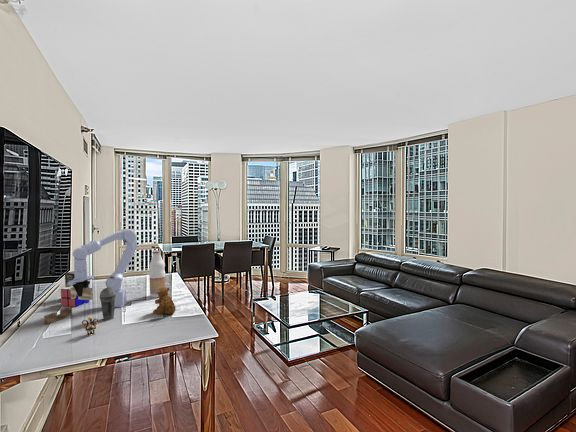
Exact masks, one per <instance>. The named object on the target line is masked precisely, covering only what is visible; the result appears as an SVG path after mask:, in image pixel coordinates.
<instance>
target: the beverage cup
mask: <svg viewBox="0 0 576 432" xmlns="http://www.w3.org/2000/svg"><path fill="white" fill-rule="evenodd" d="M106 280H107V286H106V288H105V287H104V289H102V290H101V291H100V293H99V300H100V304H101V305H100V306H101V311H102V313H101V314H102V318H103V320H104V321H110V320H113V319H114V318H115V308H116V307H115V297H116V294H115V291H114V290H113V289H112V288H108V278H106Z"/></svg>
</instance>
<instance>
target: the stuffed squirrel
mask: <svg viewBox="0 0 576 432" xmlns="http://www.w3.org/2000/svg"><path fill="white" fill-rule="evenodd" d="M169 290H170V287H167V286H166V287H162V288H160V289H159V290H158V292H157V293H158V296H159V297H158V298H157V299H155V301H154V303H155V305H157V307H156V309H153V311H152V312H153V314H156V315H164V314H165V315H173V314H174V313H175V312H176V310H177V309H176V305H175V302H174V300H173V299H172V298H173V297H171V296H170V295H169V292H170V291H169ZM157 293H156V294H157ZM156 294H155V295H156Z"/></svg>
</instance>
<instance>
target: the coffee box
mask: <svg viewBox="0 0 576 432" xmlns="http://www.w3.org/2000/svg"><path fill="white" fill-rule="evenodd" d="M74 278H75V275H74V270H73V271H67V272H65V273H64V284H65V287H64V288H66V287H69V286H70V285H68V282H69V281H71V280H74Z"/></svg>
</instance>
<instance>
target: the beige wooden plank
mask: <svg viewBox="0 0 576 432" xmlns="http://www.w3.org/2000/svg"><path fill="white" fill-rule="evenodd" d="M93 292H94V291H93V287H89V288H83V289H82V296H78V295H77V292H76V290H75V288H74V287H72V288H71V299H74V298H76V296H78V299H80V300H89V301H92V300H93V299H94V297H93V296H94V295H93V294H94V293H93Z"/></svg>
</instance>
